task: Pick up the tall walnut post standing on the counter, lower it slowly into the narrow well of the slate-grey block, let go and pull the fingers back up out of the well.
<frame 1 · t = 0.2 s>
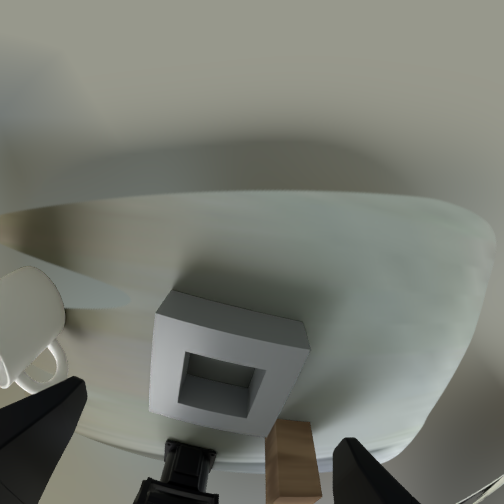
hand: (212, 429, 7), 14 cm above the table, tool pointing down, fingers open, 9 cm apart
mug: (51, 313, 23), on the table
walnut post: (287, 430, 26), on the table
well block: (223, 359, 24), on the table
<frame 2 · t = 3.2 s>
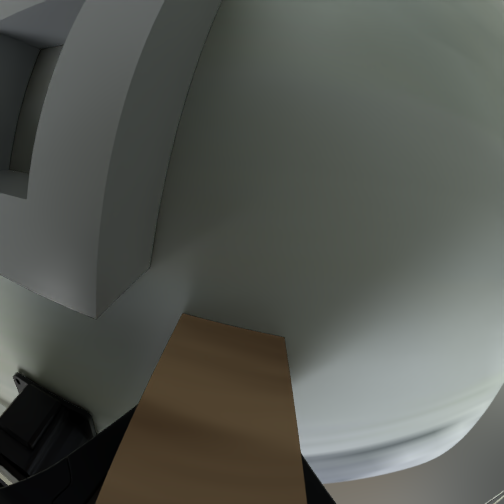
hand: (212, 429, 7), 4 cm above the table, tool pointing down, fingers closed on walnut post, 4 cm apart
walnut post: (223, 365, 11), on the table, touching gripper
well block: (61, 105, 8), on the table
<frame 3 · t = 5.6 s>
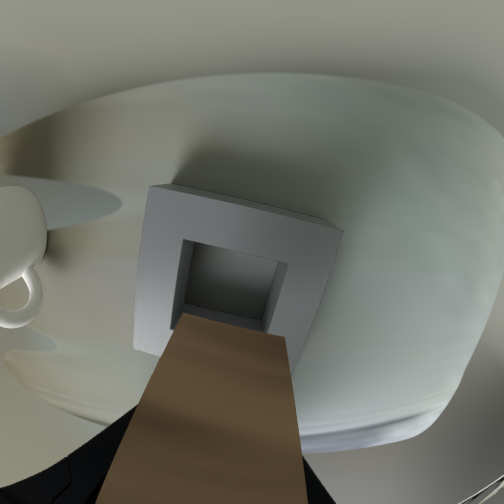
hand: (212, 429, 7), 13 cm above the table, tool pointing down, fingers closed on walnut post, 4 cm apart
mug: (32, 243, 20), on the table
walnut post: (223, 364, 11), point 10 cm above the table, touching gripper
well block: (230, 276, 20), on the table
when the fingers open (5 cm above the table, at t = 8.3 s): walnut post drops 1 cm, resting in well block.
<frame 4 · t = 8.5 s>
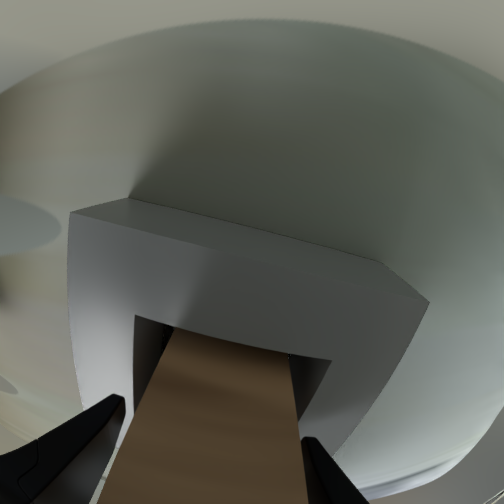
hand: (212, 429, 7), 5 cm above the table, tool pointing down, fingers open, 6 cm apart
walnut post: (227, 345, 12), resting in well block
well block: (226, 345, 12), on the table
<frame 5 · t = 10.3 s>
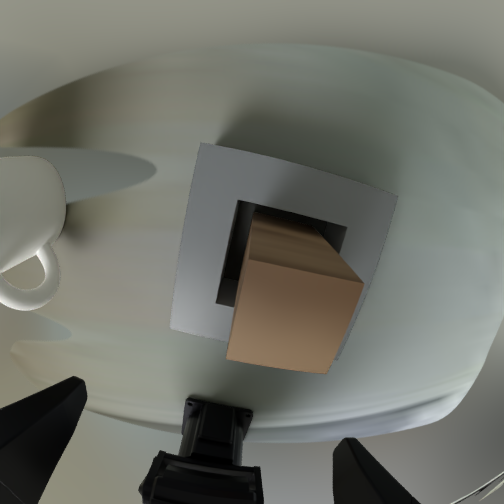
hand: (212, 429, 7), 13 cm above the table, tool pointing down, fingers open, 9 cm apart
mug: (47, 219, 19), on the table
walnut post: (275, 247, 19), resting in well block
well block: (275, 246, 19), on the table
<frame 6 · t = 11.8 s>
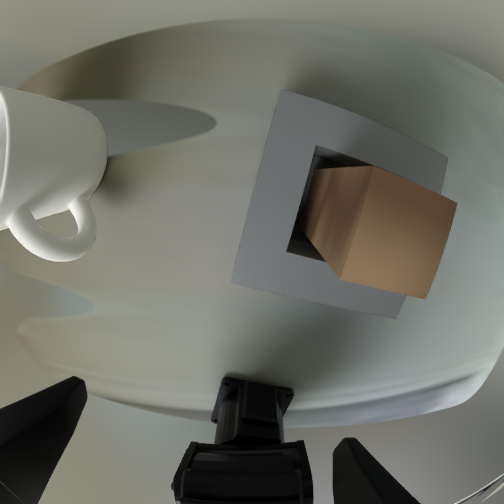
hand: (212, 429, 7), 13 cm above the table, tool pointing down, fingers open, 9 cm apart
mug: (81, 175, 18), on the table
walnut post: (333, 206, 18), resting in well block
well block: (333, 205, 18), on the table
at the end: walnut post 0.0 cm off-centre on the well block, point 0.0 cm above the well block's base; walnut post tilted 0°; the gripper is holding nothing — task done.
